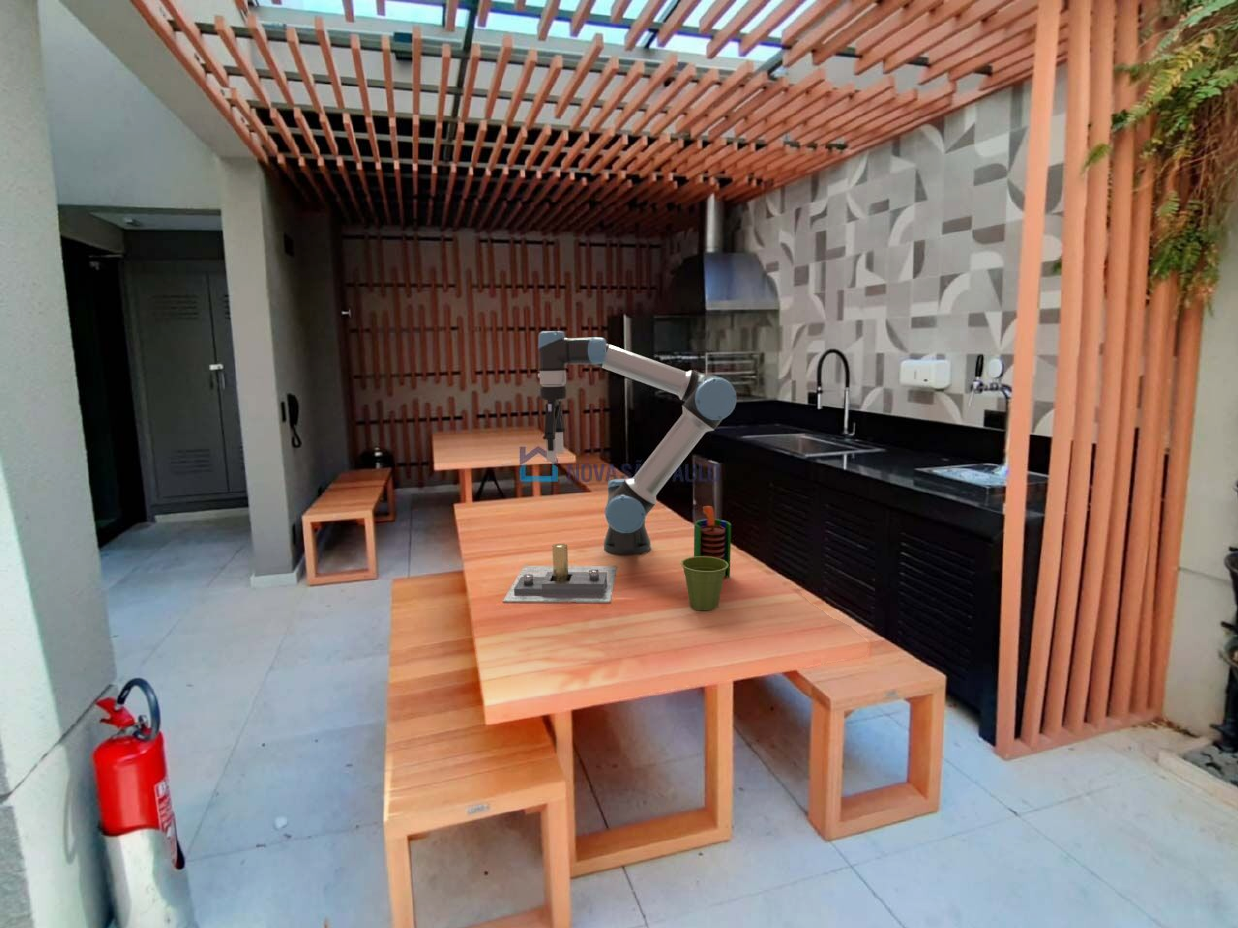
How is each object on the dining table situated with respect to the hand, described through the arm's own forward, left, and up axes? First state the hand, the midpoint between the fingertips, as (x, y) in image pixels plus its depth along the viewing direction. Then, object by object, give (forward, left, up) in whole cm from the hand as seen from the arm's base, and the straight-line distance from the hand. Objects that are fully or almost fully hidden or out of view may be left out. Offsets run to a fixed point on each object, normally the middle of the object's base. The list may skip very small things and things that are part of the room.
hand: (555, 457), depth 195 cm
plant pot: (-42, +32, -33) cm, 62 cm away
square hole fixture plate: (-4, +17, -33) cm, 37 cm away
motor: (-45, +11, -33) cm, 57 cm away
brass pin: (-4, +22, -32) cm, 39 cm away
